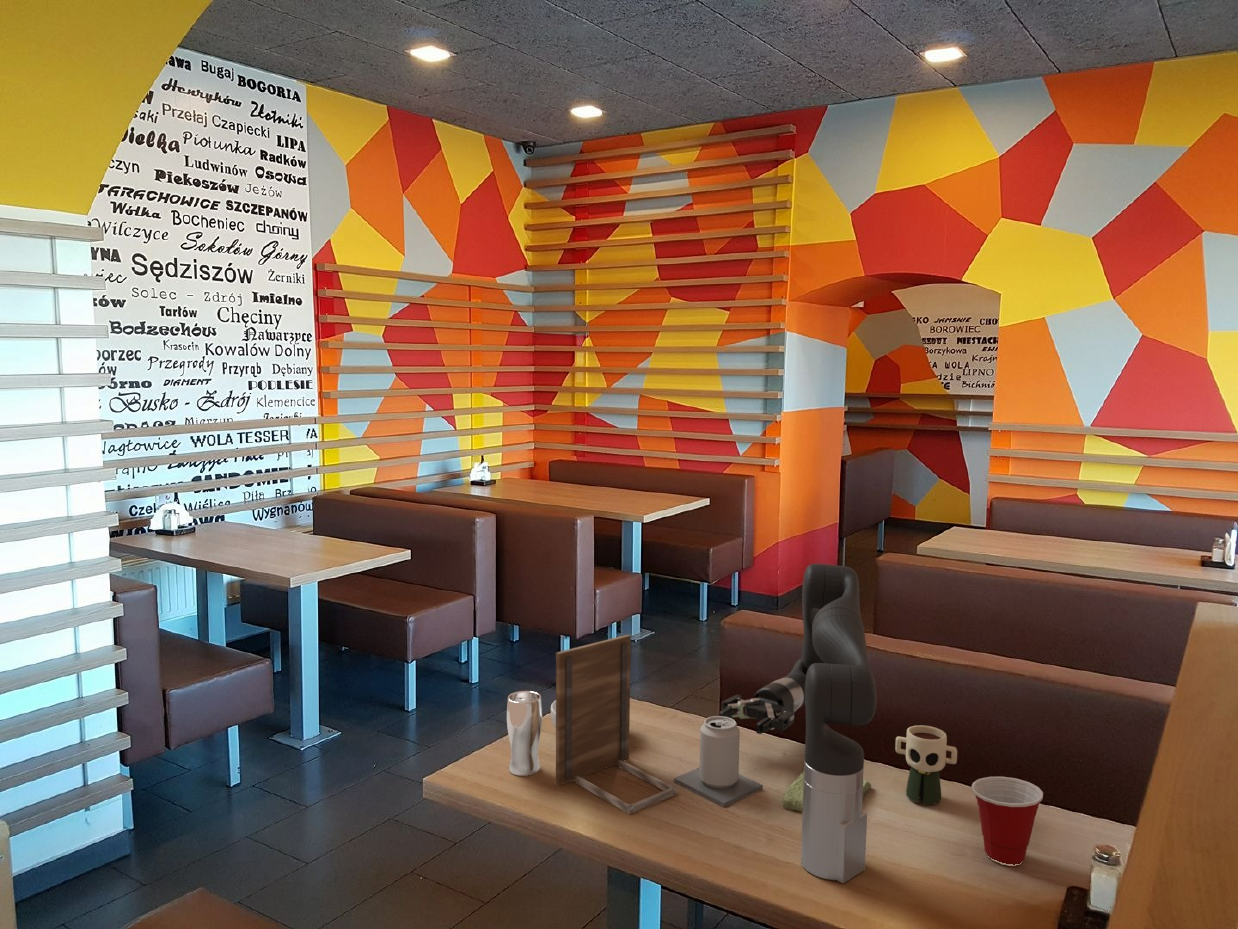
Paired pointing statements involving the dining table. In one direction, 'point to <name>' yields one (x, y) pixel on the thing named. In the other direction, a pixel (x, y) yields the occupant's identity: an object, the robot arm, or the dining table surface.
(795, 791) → the washcloth
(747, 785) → the slate board
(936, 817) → the dining table surface
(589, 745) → the wooden stand
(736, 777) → the can
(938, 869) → the dining table surface
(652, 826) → the dining table surface
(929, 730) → the character mug
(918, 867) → the dining table surface
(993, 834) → the plastic cup
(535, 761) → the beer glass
